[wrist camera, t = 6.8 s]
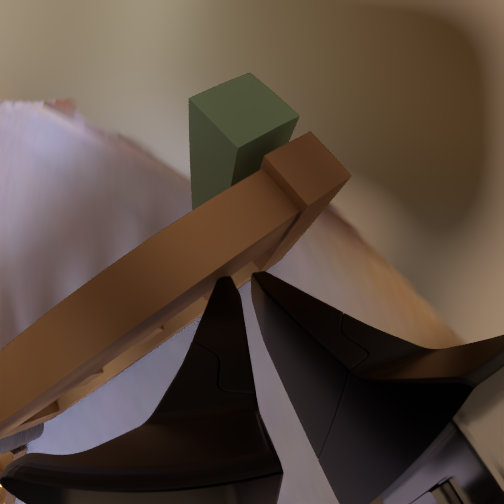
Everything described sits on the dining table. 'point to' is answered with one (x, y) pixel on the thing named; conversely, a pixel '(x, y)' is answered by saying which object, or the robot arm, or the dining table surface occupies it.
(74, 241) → the dining table surface
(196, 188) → the post
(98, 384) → the gate
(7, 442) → the wooden fence panel
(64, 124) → the dining table surface
